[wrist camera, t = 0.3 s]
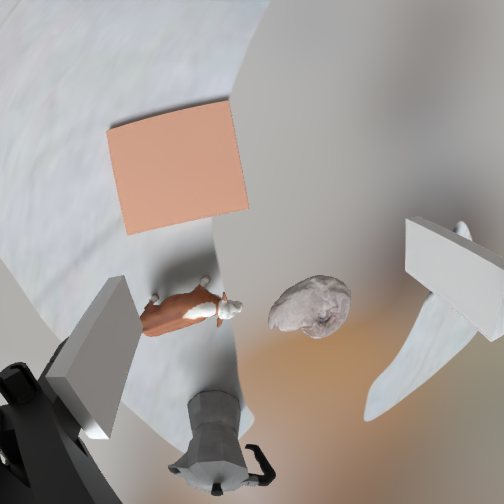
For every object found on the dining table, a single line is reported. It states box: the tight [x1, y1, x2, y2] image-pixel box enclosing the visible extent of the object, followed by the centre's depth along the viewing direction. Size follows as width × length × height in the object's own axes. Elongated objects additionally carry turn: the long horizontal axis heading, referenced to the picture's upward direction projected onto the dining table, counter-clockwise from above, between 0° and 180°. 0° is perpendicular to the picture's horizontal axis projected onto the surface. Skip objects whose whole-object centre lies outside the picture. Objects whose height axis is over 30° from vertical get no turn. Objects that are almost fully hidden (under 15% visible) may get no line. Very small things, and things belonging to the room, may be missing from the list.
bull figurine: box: [140, 276, 243, 337], centre depth 37 cm, size 4×13×8 cm, turn 104°
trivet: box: [106, 100, 249, 235], centre depth 36 cm, size 14×16×1 cm
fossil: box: [268, 275, 351, 339], centre depth 42 cm, size 12×4×10 cm
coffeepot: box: [168, 391, 276, 496], centre depth 38 cm, size 15×9×18 cm, turn 72°
